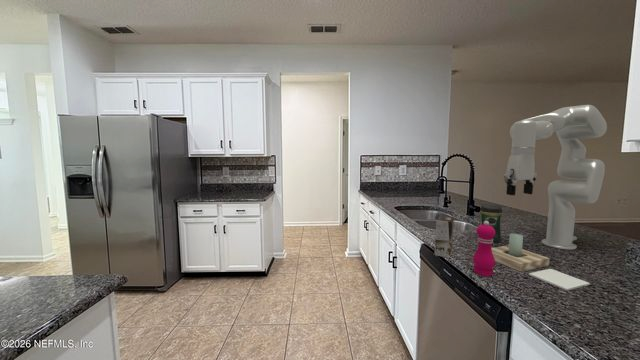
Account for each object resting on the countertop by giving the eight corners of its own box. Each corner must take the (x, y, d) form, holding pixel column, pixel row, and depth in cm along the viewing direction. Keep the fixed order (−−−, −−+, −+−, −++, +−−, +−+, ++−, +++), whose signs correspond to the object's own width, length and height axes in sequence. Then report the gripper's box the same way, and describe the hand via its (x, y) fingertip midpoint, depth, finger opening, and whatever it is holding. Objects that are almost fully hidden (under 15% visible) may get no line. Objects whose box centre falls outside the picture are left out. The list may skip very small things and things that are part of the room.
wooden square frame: (509, 251, 122) (509, 245, 122) (548, 265, 107) (549, 258, 107) (482, 255, 117) (483, 249, 117) (520, 271, 102) (520, 263, 102)
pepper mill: (468, 268, 105) (470, 218, 103) (485, 267, 105) (488, 218, 103) (480, 277, 98) (483, 223, 96) (499, 276, 98) (502, 223, 96)
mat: (550, 270, 103) (550, 268, 103) (589, 284, 92) (590, 283, 92) (528, 274, 99) (528, 273, 99) (566, 290, 88) (567, 289, 88)
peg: (512, 257, 115) (514, 233, 114) (523, 261, 111) (525, 236, 110) (505, 259, 114) (507, 234, 112) (515, 263, 109) (517, 237, 108)
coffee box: (450, 258, 115) (452, 221, 113) (434, 255, 118) (435, 219, 117) (452, 251, 123) (454, 217, 121) (437, 248, 126) (438, 215, 124)
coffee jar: (500, 239, 139) (502, 204, 137) (501, 243, 132) (503, 206, 130) (478, 236, 144) (480, 202, 142) (478, 240, 138) (480, 204, 135)
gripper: (528, 152, 114) (524, 192, 115) (497, 152, 108) (495, 194, 110) (547, 152, 107) (544, 194, 108) (516, 152, 101) (513, 196, 103)
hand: (519, 194), depth 109 cm, fingers open, 9 cm apart
